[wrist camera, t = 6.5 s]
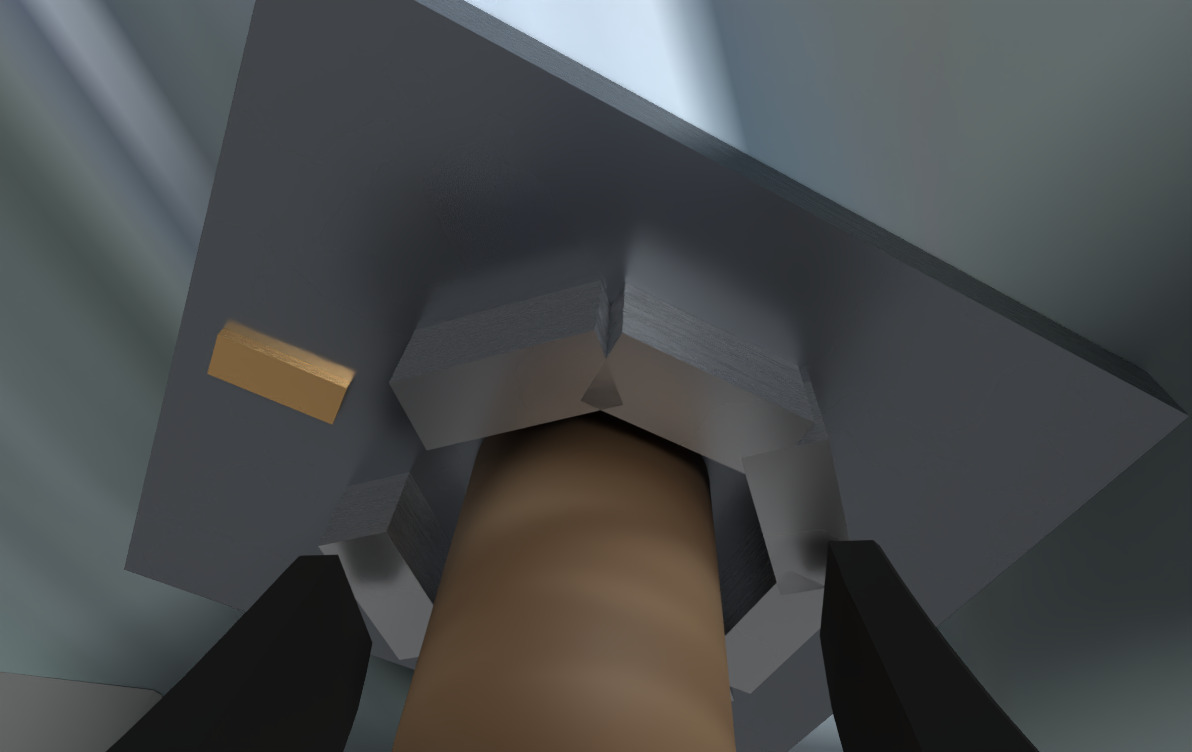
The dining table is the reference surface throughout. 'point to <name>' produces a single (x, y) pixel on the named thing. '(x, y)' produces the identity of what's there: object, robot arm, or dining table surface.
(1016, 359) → the hub plate
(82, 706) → the lighter
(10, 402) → the dining table surface
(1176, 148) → the dining table surface
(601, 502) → the knob
